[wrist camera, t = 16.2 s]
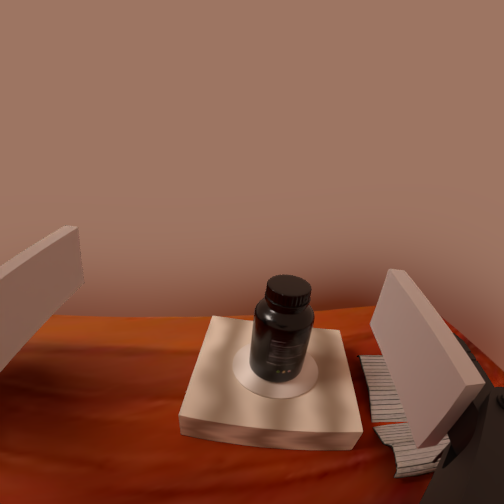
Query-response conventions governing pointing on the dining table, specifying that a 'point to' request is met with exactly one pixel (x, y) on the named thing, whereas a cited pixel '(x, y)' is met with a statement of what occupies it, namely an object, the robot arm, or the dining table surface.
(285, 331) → the supplement bottle
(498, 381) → the dining table surface
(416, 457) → the mat
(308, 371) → the stand
